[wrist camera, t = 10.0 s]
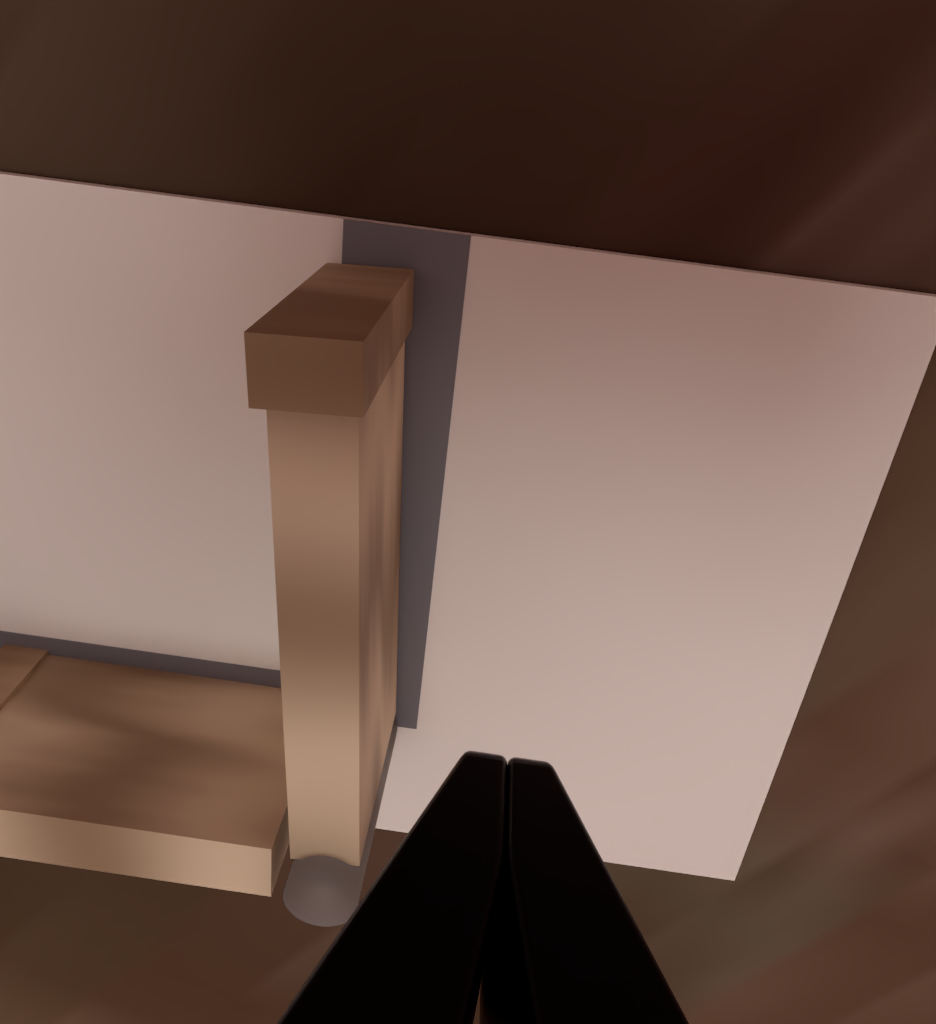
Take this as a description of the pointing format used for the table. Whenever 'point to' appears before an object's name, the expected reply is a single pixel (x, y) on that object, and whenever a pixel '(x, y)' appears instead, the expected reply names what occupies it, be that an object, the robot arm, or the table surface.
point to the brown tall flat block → (335, 560)
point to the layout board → (464, 487)
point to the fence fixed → (141, 772)
